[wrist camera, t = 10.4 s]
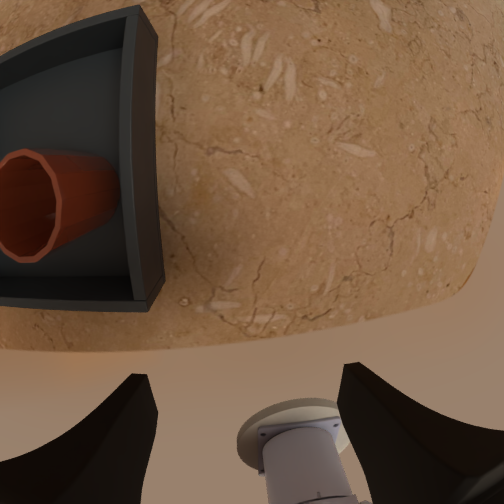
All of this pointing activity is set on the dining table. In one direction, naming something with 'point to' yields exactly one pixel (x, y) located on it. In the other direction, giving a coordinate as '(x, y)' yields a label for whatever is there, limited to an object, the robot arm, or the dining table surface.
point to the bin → (94, 141)
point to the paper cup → (53, 200)
